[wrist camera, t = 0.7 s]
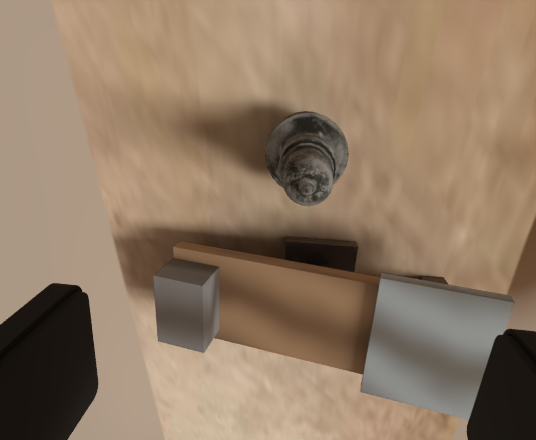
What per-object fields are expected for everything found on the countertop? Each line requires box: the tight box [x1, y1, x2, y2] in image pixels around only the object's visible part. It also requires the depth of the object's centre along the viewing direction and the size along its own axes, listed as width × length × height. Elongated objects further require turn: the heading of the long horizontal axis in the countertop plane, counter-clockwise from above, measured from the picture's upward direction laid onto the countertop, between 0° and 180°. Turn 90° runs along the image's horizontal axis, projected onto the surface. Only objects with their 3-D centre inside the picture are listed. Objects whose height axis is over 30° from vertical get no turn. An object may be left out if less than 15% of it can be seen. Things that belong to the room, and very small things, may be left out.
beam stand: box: [285, 237, 448, 284], centre depth 33 cm, size 8×22×5 cm, turn 87°
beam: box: [153, 241, 514, 420], centre depth 29 cm, size 10×24×4 cm, turn 87°
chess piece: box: [265, 112, 349, 206], centre depth 25 cm, size 6×6×12 cm
